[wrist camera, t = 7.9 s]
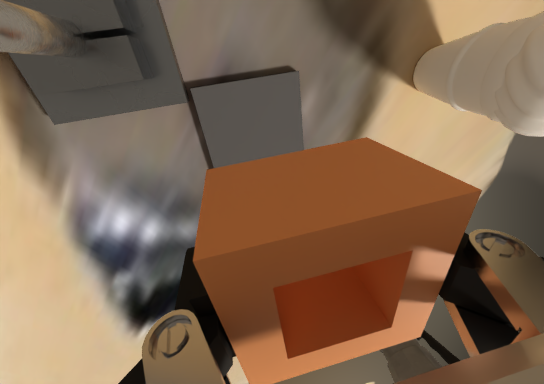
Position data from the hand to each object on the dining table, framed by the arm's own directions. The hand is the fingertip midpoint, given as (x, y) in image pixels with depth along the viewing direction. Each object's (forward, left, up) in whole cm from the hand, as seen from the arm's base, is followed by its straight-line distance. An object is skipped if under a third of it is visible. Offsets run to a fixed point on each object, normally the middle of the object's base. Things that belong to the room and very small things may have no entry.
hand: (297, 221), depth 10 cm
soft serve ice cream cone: (-20, -3, -16) cm, 26 cm away
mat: (0, 0, -15) cm, 15 cm away
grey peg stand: (+11, -9, -15) cm, 21 cm away
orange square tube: (0, 0, 0) cm, 0 cm away
